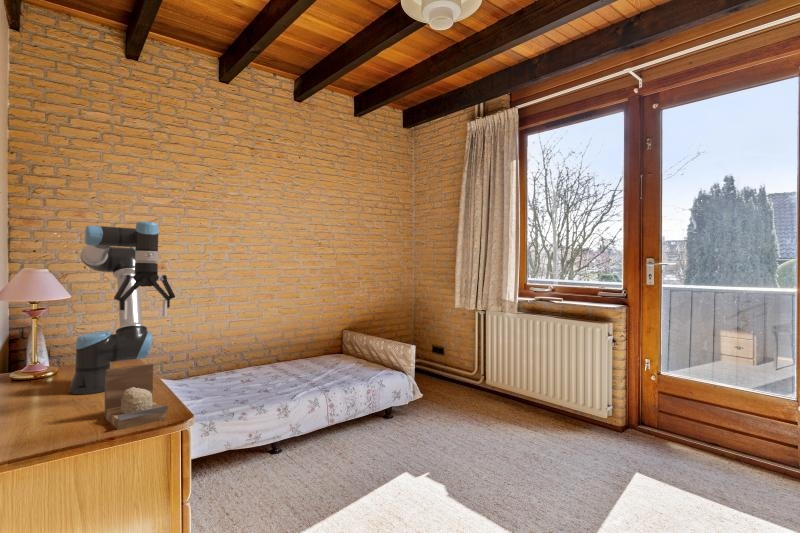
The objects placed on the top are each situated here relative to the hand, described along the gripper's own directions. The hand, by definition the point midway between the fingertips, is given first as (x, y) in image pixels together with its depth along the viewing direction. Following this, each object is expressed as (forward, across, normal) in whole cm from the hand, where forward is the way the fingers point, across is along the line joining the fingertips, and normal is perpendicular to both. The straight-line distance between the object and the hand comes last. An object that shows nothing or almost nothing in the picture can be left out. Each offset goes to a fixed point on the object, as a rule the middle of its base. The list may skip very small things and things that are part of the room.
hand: (145, 317), depth 160 cm
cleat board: (+31, -8, -20) cm, 38 cm away
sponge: (+29, -8, -20) cm, 36 cm away
